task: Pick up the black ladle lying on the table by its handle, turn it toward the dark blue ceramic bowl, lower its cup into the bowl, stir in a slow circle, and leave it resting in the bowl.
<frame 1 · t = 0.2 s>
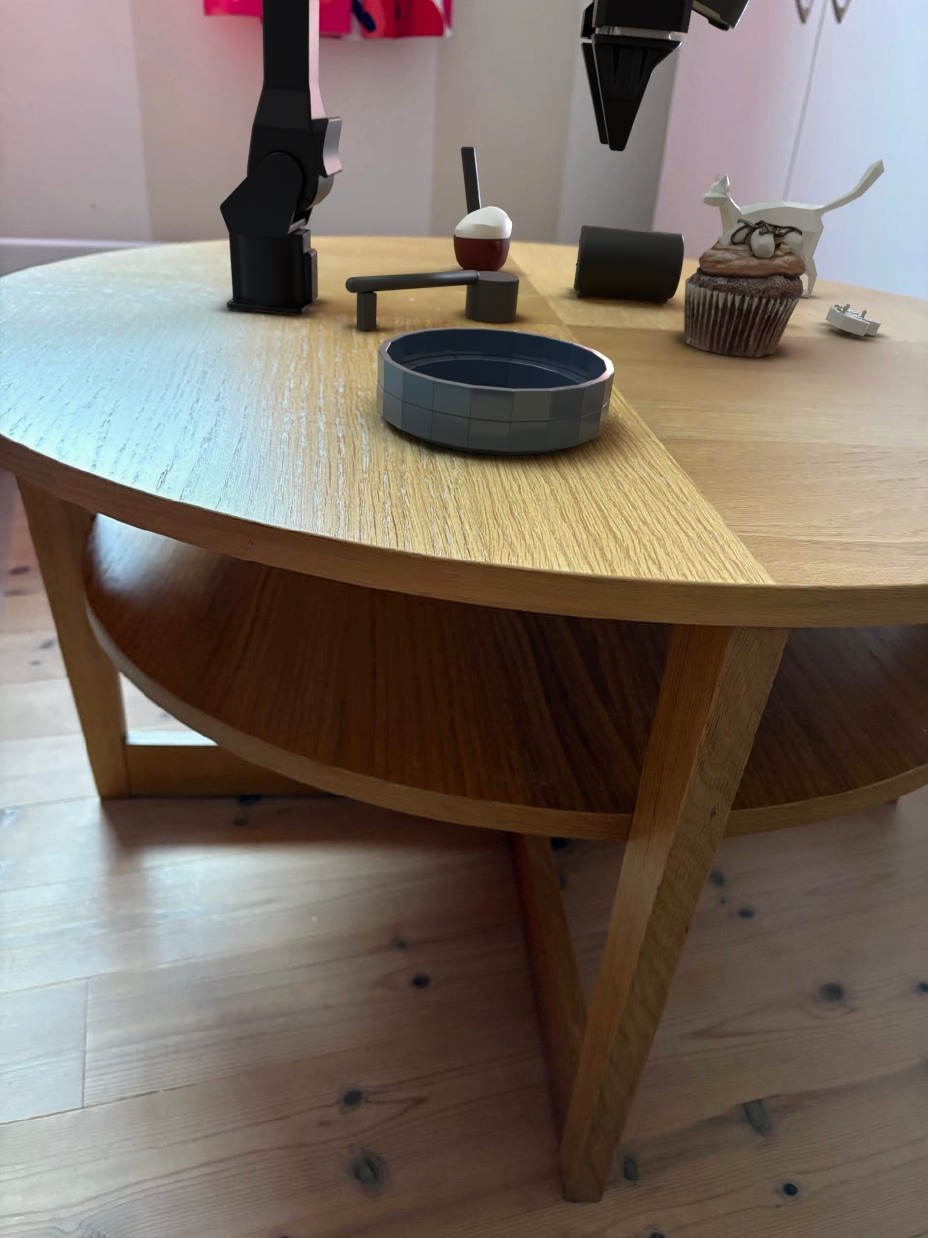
hand: (611, 147, 70), 14 cm above the table, tool pointing down, fingers open, 9 cm apart
end cap: (620, 301, 91), on the table
cupcake: (728, 347, 77), on the table
ladle: (490, 316, 80), on the table
cat figurine: (767, 293, 101), on the table
bowl: (490, 420, 55), on the table
cocoa: (479, 272, 100), on the table
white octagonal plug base: (811, 330, 86), on the table
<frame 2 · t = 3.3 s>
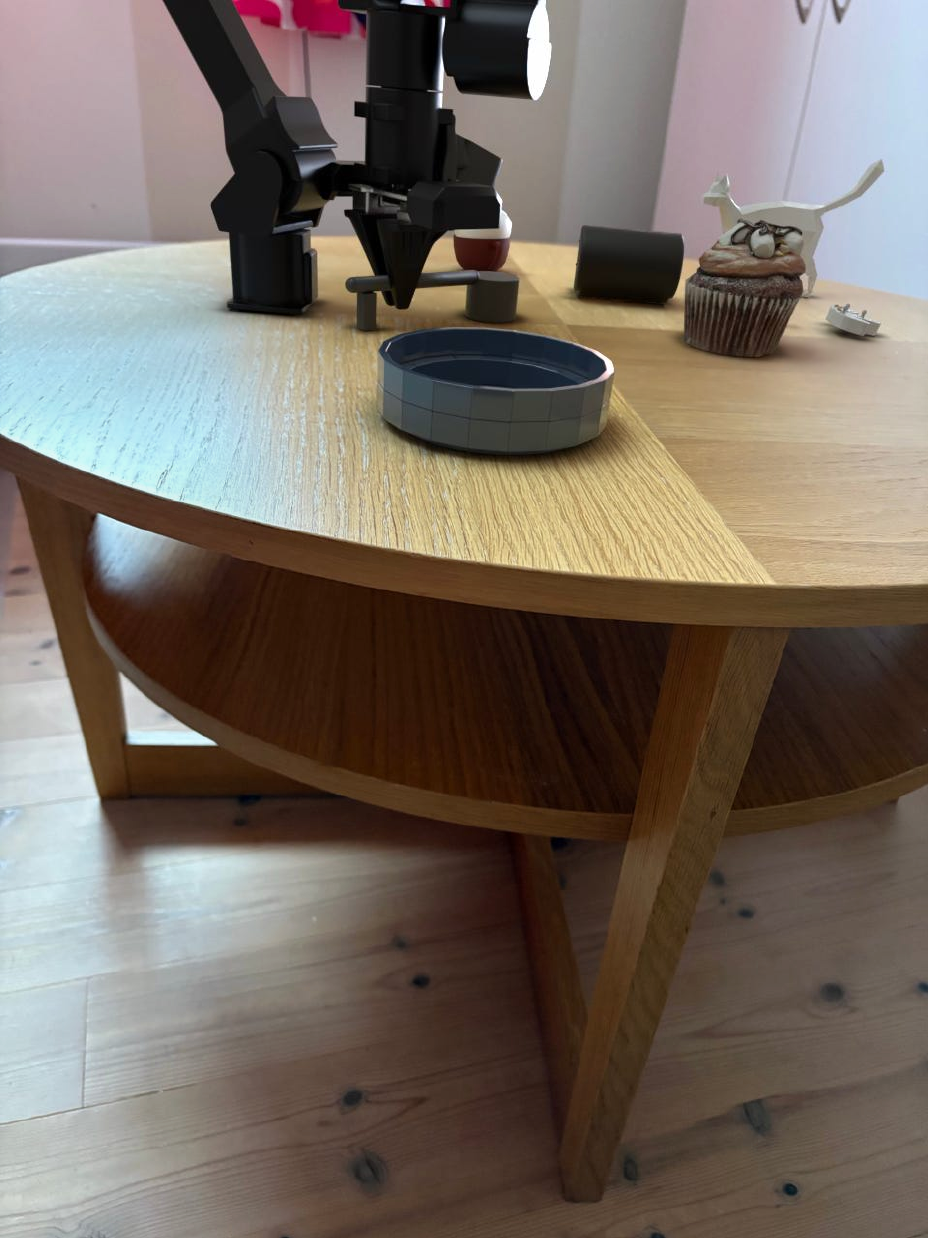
hand: (397, 307, 74), 2 cm above the table, tool pointing down, fingers closed on ladle
ladle: (490, 316, 80), on the table, touching gripper
everything else where it was.
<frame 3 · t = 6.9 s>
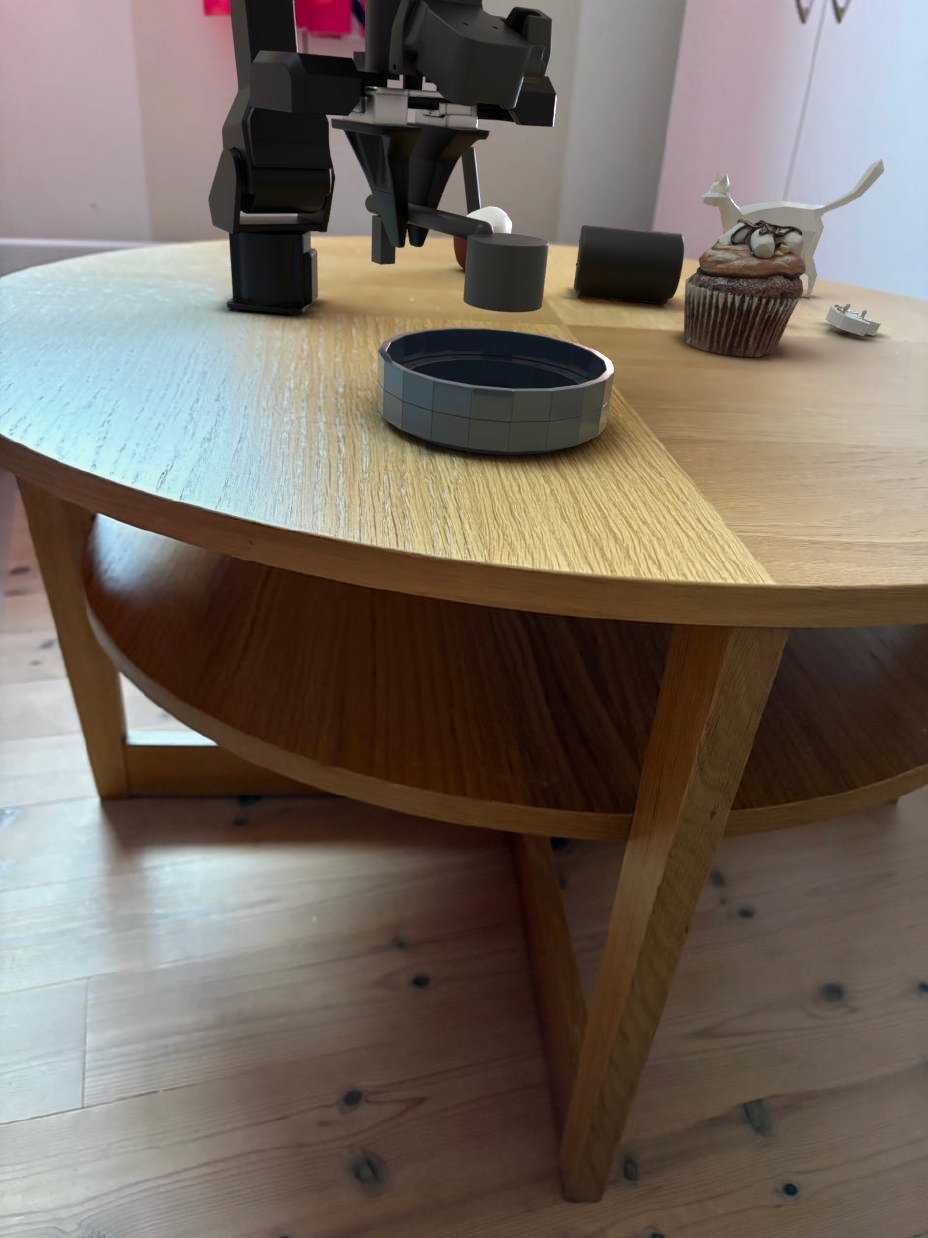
hand: (406, 246, 58), 8 cm above the table, tool pointing down, fingers closed on ladle
ladle: (502, 303, 52), point 7 cm above the table, touching gripper
everything else where it was.
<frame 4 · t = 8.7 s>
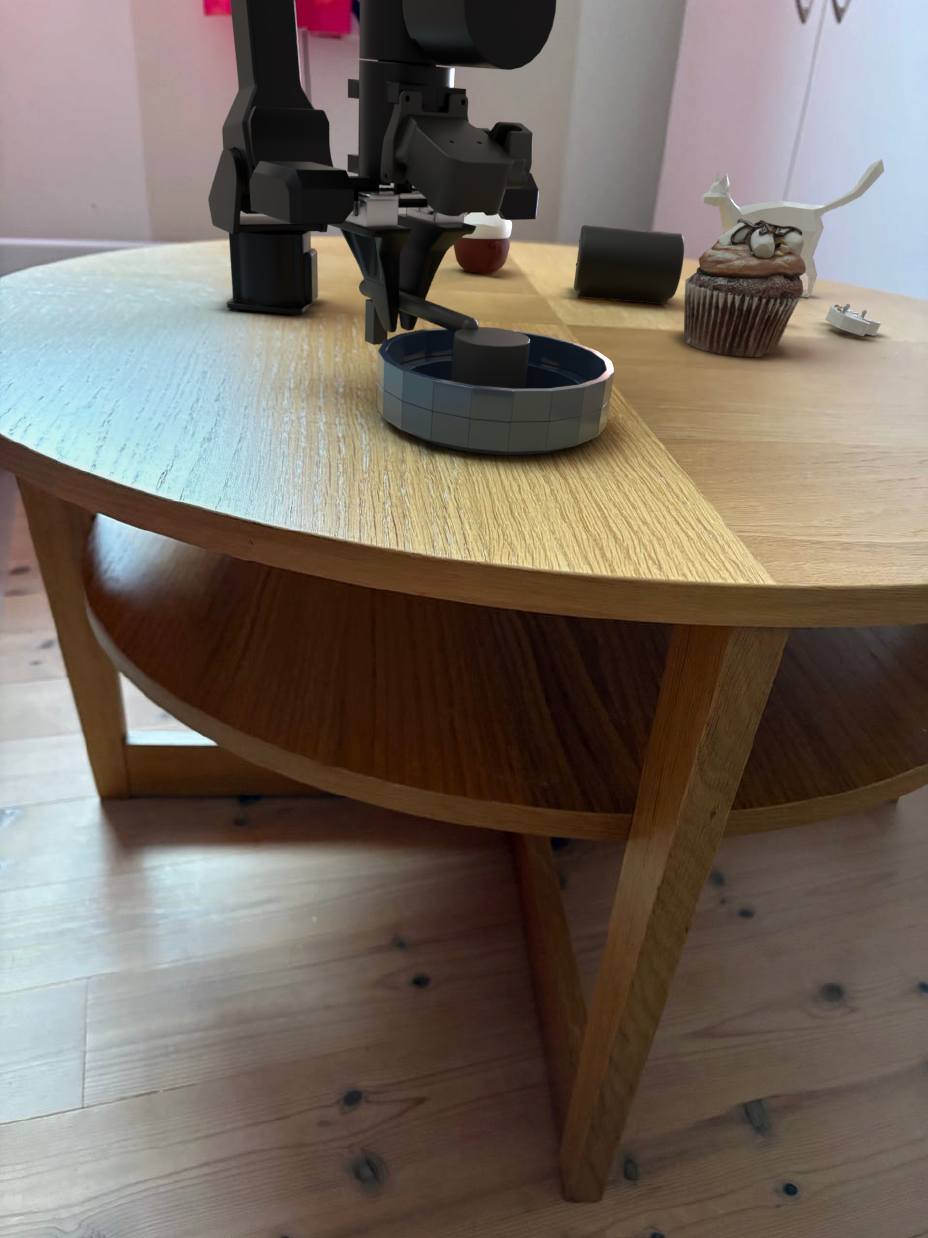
hand: (398, 330, 61), 3 cm above the table, tool pointing down, fingers closed on ladle
ladle: (487, 393, 55), point 1 cm above the table, touching gripper
everything else where it was.
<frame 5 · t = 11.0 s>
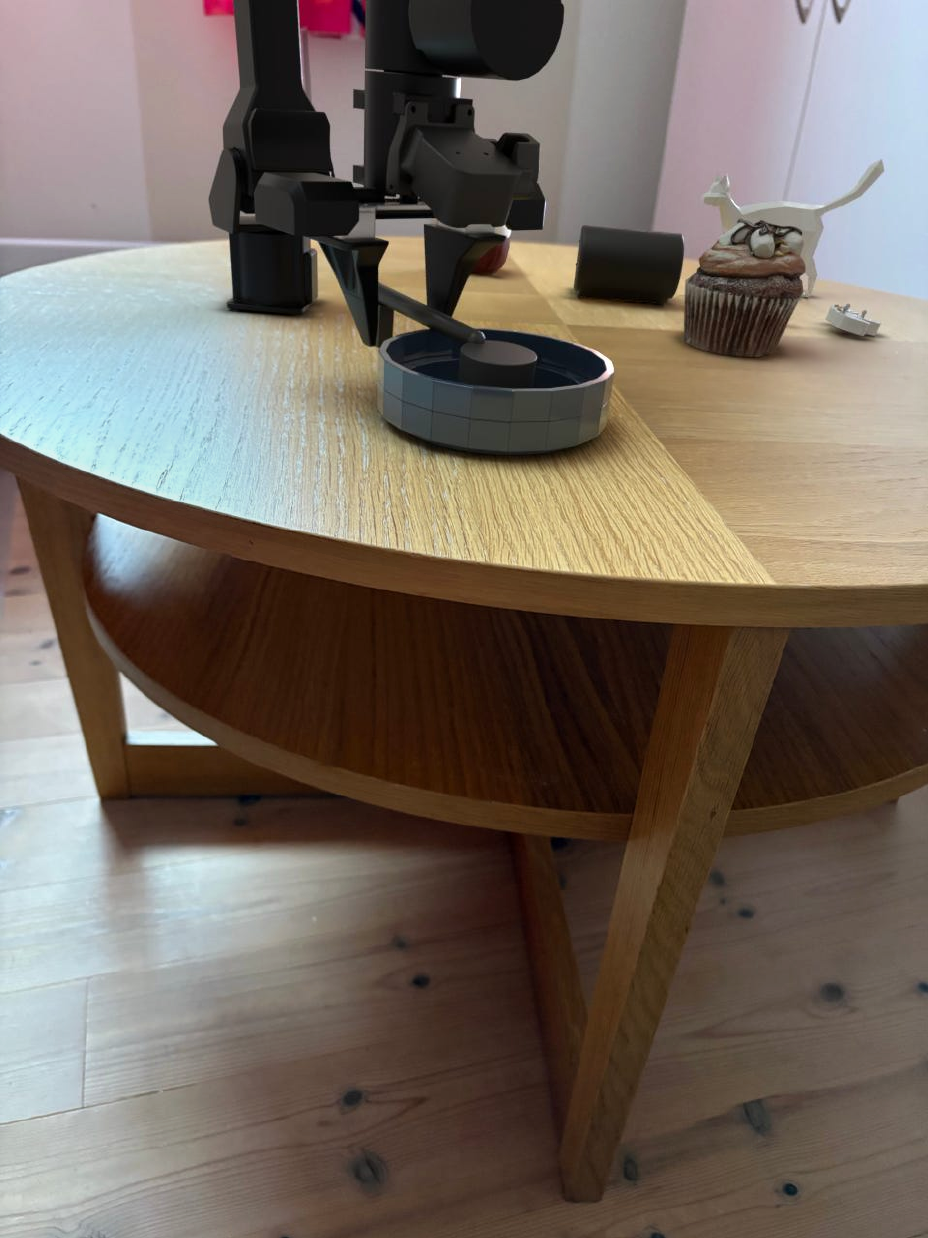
hand: (403, 341, 61), 2 cm above the table, tool pointing down, fingers open, 5 cm apart
ladle: (492, 408, 55), point 1 cm above the table, touching bowl
everything else where it was.
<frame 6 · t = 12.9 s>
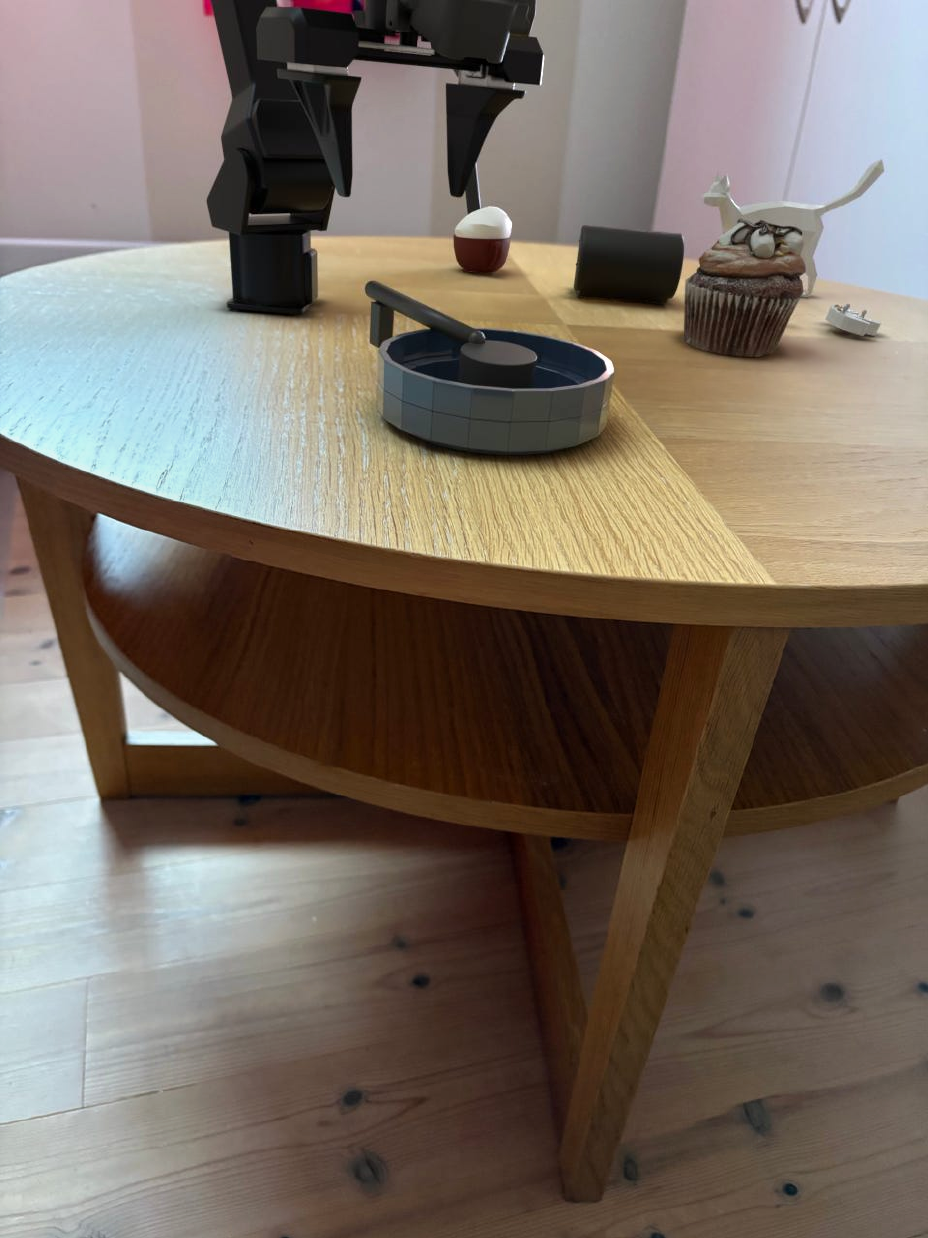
hand: (402, 196, 62), 11 cm above the table, tool pointing down, fingers open, 9 cm apart
nothing on the table moved.
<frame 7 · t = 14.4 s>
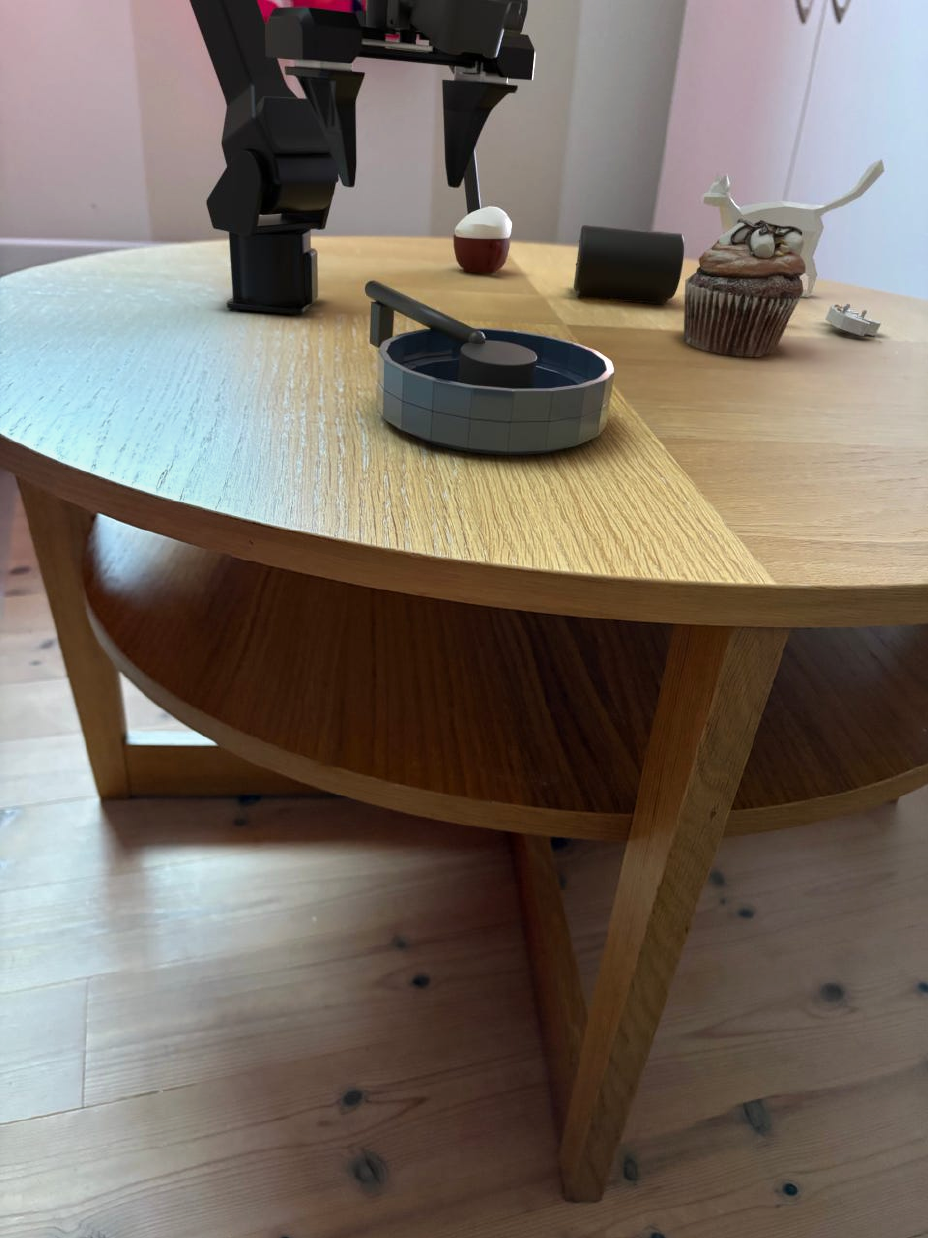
hand: (403, 186, 65), 11 cm above the table, tool pointing down, fingers open, 9 cm apart
nothing on the table moved.
at the end: ladle inside the target area in the bowl (0.1 cm from its centre), point 0.7 cm above the bowl's base; ladle moved 28.9 cm from its start; the gripper is holding nothing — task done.
